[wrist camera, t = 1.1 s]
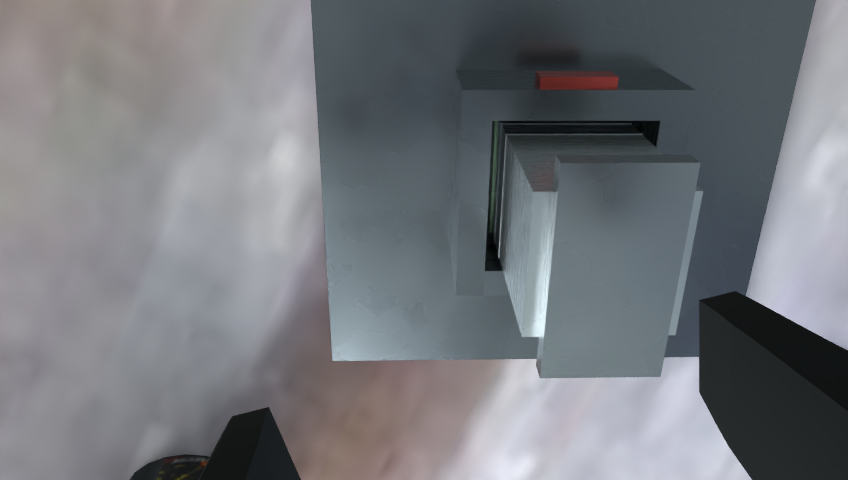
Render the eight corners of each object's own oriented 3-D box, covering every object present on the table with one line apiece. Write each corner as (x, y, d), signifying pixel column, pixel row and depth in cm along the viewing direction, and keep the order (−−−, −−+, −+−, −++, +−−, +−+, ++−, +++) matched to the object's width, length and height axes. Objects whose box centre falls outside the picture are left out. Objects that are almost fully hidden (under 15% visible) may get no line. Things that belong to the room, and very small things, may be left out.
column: (621, 83, 20) (722, 162, 14) (600, 244, 22) (679, 376, 16) (494, 83, 20) (538, 163, 14) (486, 245, 22) (520, 378, 16)
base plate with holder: (814, -83, 19) (896, -81, 16) (719, 340, 25) (764, 401, 22) (310, -87, 19) (291, -86, 16) (334, 344, 25) (325, 407, 22)
